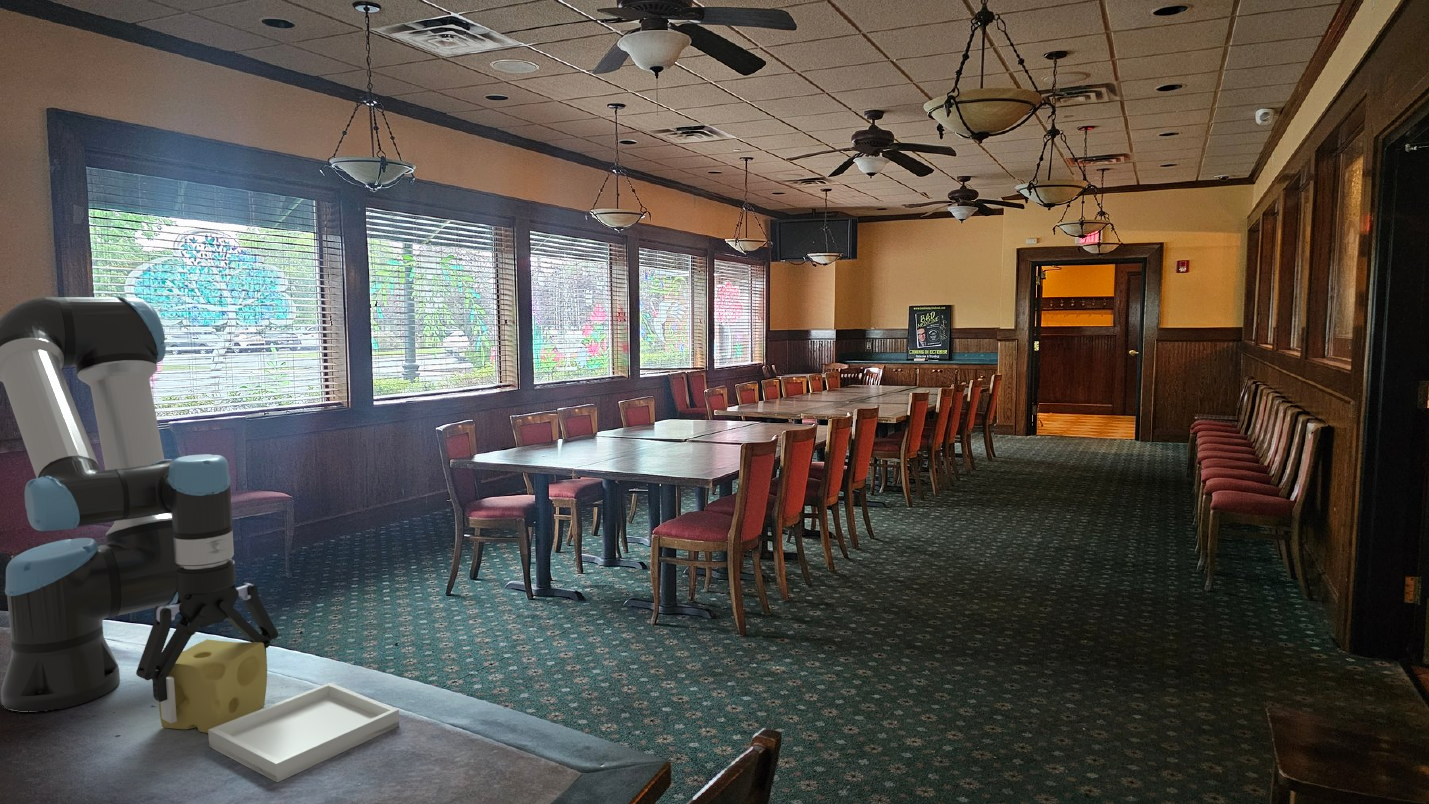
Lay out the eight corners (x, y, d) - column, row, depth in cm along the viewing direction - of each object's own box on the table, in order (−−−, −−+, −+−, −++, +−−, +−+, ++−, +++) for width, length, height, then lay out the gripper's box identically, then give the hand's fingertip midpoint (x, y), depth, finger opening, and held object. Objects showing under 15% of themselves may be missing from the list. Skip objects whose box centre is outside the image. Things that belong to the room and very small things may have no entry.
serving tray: (209, 746, 125) (208, 729, 125) (330, 697, 141) (330, 682, 140) (277, 782, 116) (276, 763, 116) (399, 725, 132) (398, 709, 131)
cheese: (219, 736, 128) (215, 668, 127) (155, 728, 130) (150, 662, 129) (270, 704, 138) (266, 641, 137) (209, 697, 141) (205, 635, 139)
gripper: (126, 588, 120) (138, 743, 122) (298, 546, 140) (305, 680, 142) (100, 578, 124) (112, 728, 126) (270, 539, 144) (278, 670, 146)
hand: (214, 703), depth 134 cm, fingers closed on cheese, 12 cm apart
